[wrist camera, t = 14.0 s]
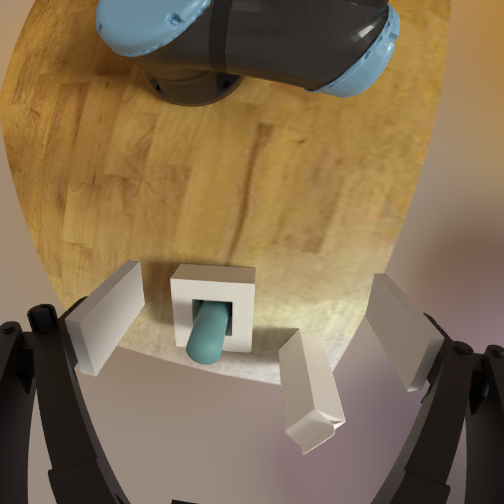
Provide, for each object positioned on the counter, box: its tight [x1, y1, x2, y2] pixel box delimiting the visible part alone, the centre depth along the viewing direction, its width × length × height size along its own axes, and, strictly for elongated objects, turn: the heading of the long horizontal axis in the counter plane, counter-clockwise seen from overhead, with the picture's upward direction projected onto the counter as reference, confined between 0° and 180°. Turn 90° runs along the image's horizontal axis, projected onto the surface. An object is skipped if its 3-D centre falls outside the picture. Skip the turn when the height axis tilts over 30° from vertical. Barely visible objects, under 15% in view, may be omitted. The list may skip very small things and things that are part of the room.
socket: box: [170, 264, 256, 353], centre depth 45 cm, size 12×12×6 cm
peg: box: [186, 300, 231, 364], centre depth 41 cm, size 4×4×14 cm
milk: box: [278, 329, 345, 454], centre depth 40 cm, size 6×6×22 cm
